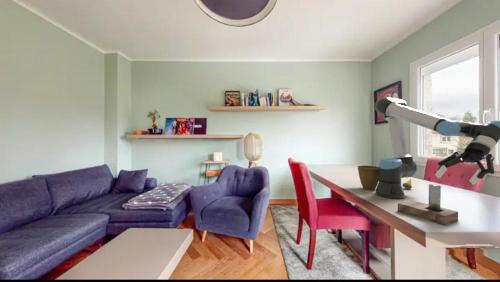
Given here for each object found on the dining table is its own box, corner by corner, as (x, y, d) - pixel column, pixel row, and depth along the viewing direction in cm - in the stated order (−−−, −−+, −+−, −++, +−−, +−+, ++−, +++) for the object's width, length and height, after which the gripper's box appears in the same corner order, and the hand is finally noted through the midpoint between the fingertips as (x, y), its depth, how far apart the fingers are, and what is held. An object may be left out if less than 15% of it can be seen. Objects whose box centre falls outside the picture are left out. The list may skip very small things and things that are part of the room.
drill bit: (399, 188, 145) (405, 178, 148) (408, 192, 142) (413, 182, 145) (402, 185, 141) (408, 175, 144) (410, 190, 138) (416, 179, 141)
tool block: (397, 210, 99) (397, 203, 99) (410, 207, 104) (411, 200, 104) (444, 225, 83) (445, 216, 83) (458, 220, 88) (458, 211, 88)
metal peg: (426, 214, 92) (427, 184, 92) (431, 213, 93) (431, 183, 93) (437, 217, 88) (438, 186, 88) (442, 216, 90) (442, 185, 90)
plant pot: (352, 187, 146) (352, 165, 145) (367, 185, 151) (367, 165, 150) (370, 192, 132) (371, 169, 131) (386, 191, 137) (387, 167, 136)
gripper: (523, 155, 83) (494, 192, 80) (452, 151, 107) (429, 179, 105) (514, 142, 82) (485, 179, 79) (445, 141, 106) (421, 169, 104)
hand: (453, 179), depth 92 cm, fingers open, 13 cm apart
